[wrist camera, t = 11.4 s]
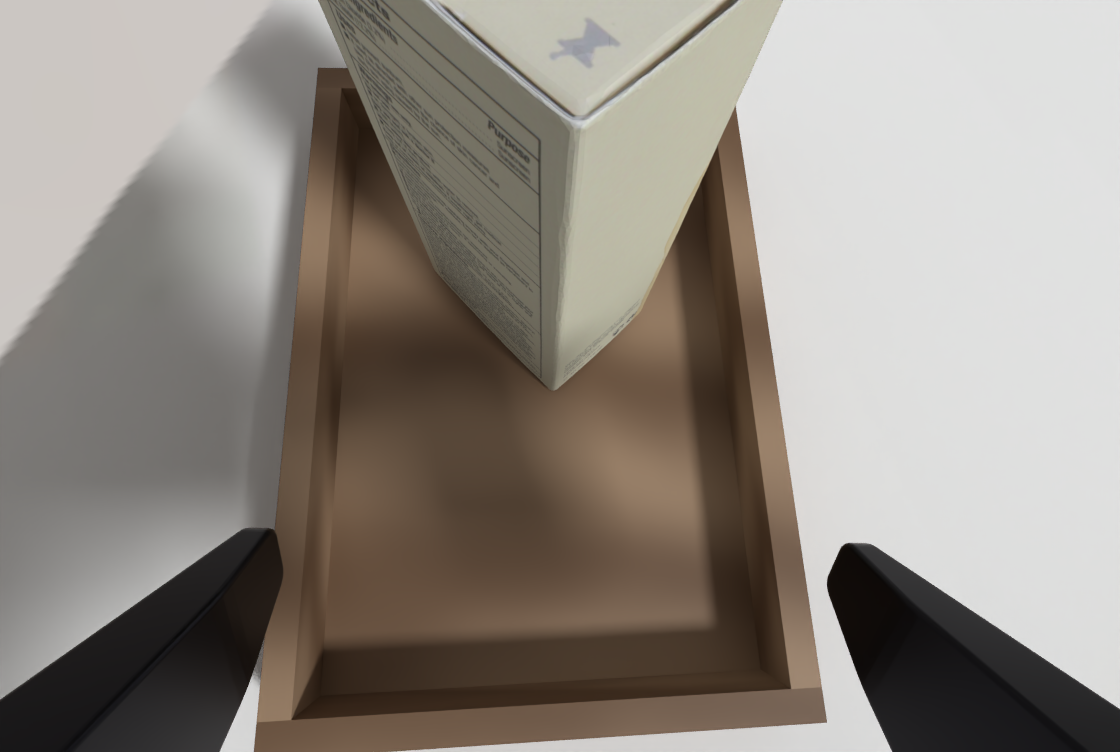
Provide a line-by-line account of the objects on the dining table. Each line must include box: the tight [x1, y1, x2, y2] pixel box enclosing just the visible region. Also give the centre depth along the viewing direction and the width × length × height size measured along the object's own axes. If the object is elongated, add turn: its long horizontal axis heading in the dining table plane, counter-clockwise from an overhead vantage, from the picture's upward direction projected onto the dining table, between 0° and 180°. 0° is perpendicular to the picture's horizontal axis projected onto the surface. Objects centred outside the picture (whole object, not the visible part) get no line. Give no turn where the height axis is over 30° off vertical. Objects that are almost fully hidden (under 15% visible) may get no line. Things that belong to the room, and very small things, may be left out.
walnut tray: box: [254, 68, 827, 752], centre depth 17 cm, size 20×14×2 cm
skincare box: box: [318, 0, 783, 391], centre depth 12 cm, size 6×4×12 cm
